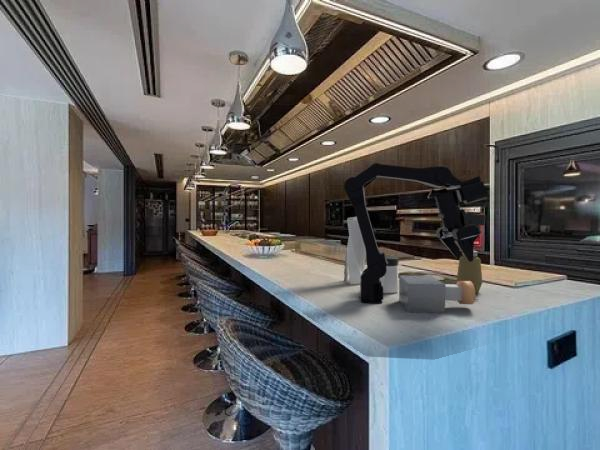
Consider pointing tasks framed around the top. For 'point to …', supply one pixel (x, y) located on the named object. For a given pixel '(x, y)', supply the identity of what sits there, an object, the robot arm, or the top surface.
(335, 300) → the top surface
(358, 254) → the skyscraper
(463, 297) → the white and tan bar
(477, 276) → the squeeze bottle
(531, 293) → the top surface
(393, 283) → the jar
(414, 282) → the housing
